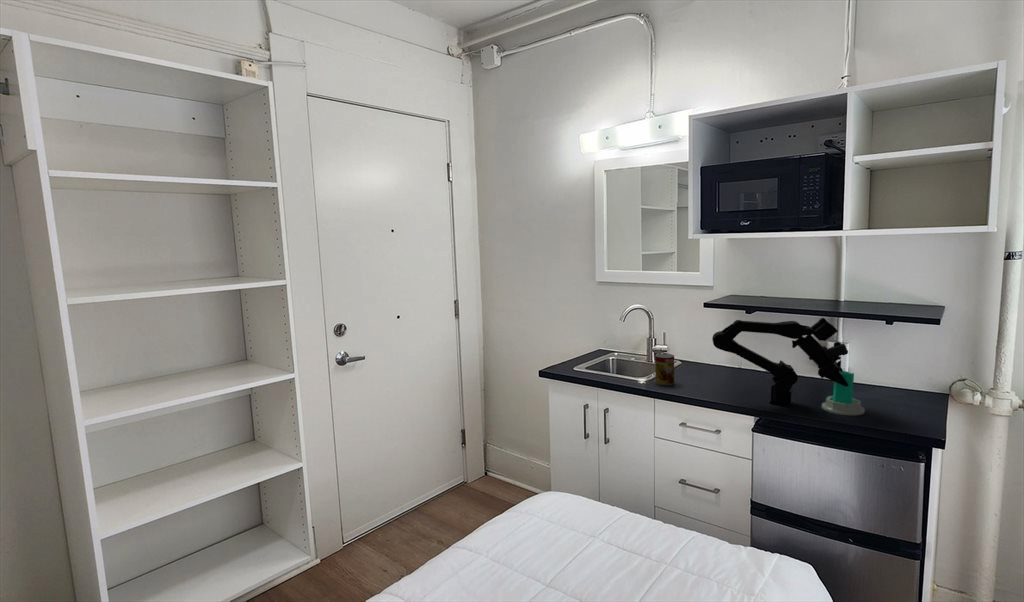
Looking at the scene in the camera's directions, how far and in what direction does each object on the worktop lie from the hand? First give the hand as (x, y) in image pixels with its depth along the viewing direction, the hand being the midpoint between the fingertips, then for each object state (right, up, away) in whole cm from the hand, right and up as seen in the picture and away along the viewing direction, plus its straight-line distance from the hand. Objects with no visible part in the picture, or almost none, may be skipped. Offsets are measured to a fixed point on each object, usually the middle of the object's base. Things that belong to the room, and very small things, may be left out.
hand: (848, 384), depth 189 cm
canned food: (-52, -6, +43) cm, 68 cm away
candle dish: (-1, -9, +2) cm, 10 cm away
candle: (-1, -7, +2) cm, 7 cm away
